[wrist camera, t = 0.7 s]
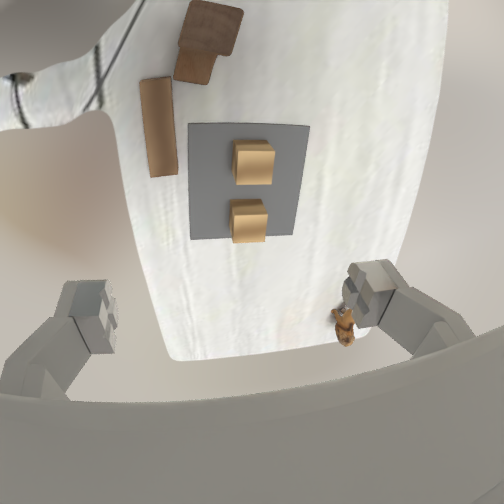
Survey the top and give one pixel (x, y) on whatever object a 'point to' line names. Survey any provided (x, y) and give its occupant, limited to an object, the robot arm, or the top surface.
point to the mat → (223, 183)
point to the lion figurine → (344, 327)
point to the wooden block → (205, 39)
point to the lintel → (159, 126)
